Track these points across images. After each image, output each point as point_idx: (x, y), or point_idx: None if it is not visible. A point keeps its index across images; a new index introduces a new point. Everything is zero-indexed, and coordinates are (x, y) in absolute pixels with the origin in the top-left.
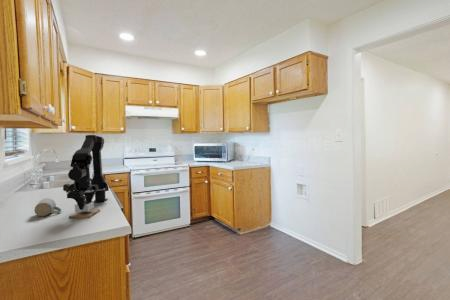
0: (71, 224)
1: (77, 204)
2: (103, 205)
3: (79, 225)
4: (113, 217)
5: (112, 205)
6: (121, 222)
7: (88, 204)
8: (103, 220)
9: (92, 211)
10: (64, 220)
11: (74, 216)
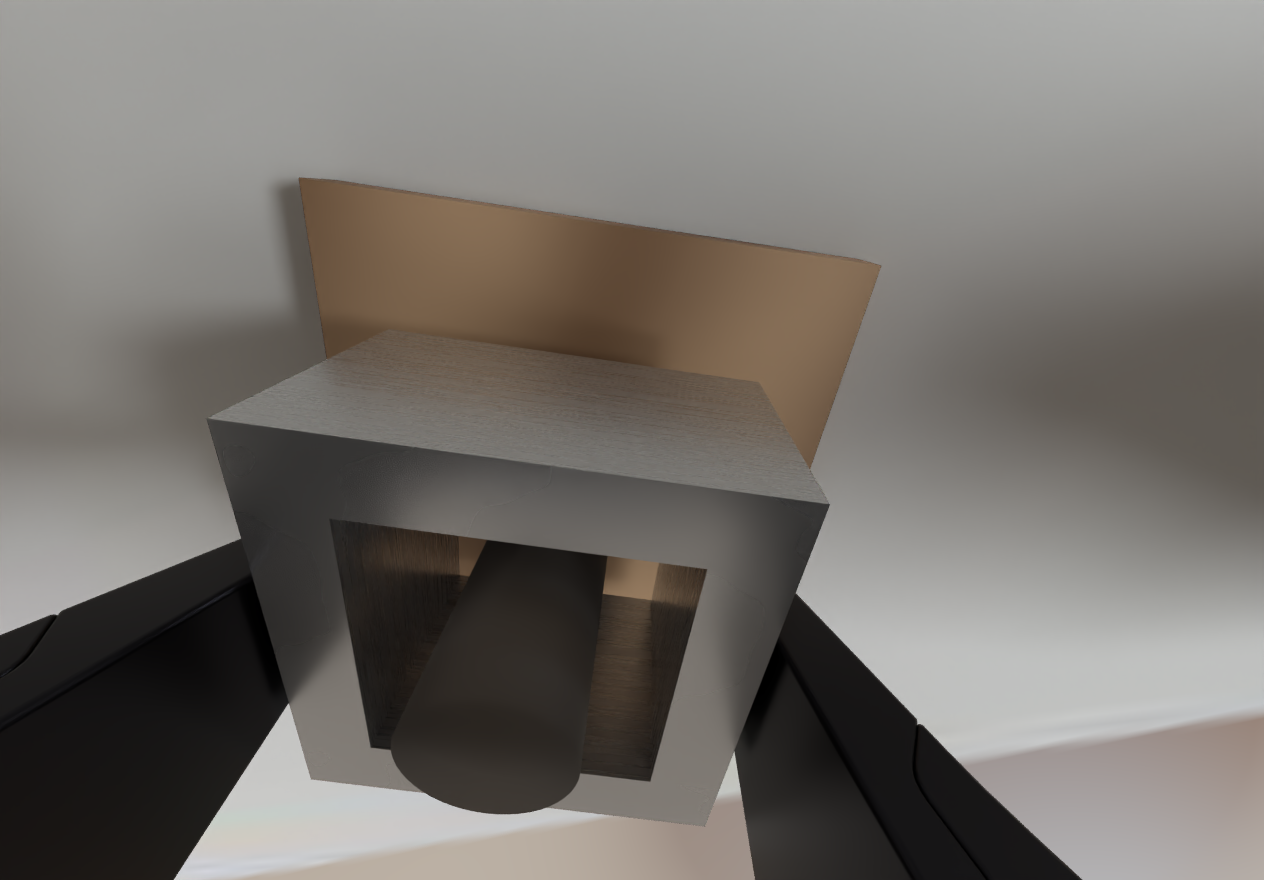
0: (5, 419)
1: (287, 507)
2: (1197, 590)
3: (13, 552)
4: (382, 802)
5: (1060, 716)
6: (225, 863)
7: (388, 764)
8: (266, 744)
9: (629, 580)
10: (177, 133)
11: (328, 331)
